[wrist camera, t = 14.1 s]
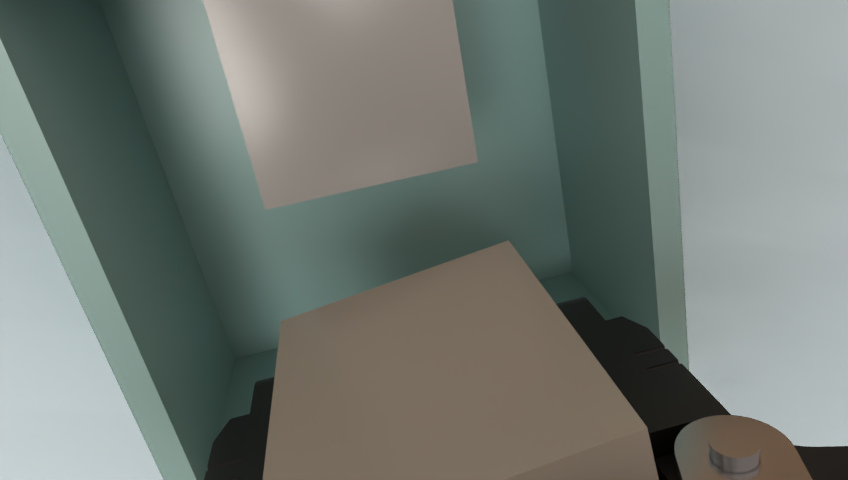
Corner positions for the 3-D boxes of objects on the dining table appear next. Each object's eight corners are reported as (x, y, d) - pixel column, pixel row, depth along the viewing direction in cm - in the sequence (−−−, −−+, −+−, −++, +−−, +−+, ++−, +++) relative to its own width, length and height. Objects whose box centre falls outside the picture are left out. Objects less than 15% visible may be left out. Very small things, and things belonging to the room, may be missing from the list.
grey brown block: (233, -22, 15) (195, -24, 10) (403, -56, 15) (441, -72, 11) (279, 146, 16) (265, 210, 12) (433, 112, 17) (477, 162, 12)
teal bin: (65, -35, 15) (-84, -45, 9) (536, -137, 16) (657, -203, 10) (223, 370, 19) (185, 526, 14) (586, 276, 20) (689, 388, 14)
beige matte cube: (281, 321, 11) (251, 571, 6) (508, 240, 11) (647, 426, 6) (362, 495, 12) (388, 799, 8) (561, 423, 12) (703, 682, 8)
